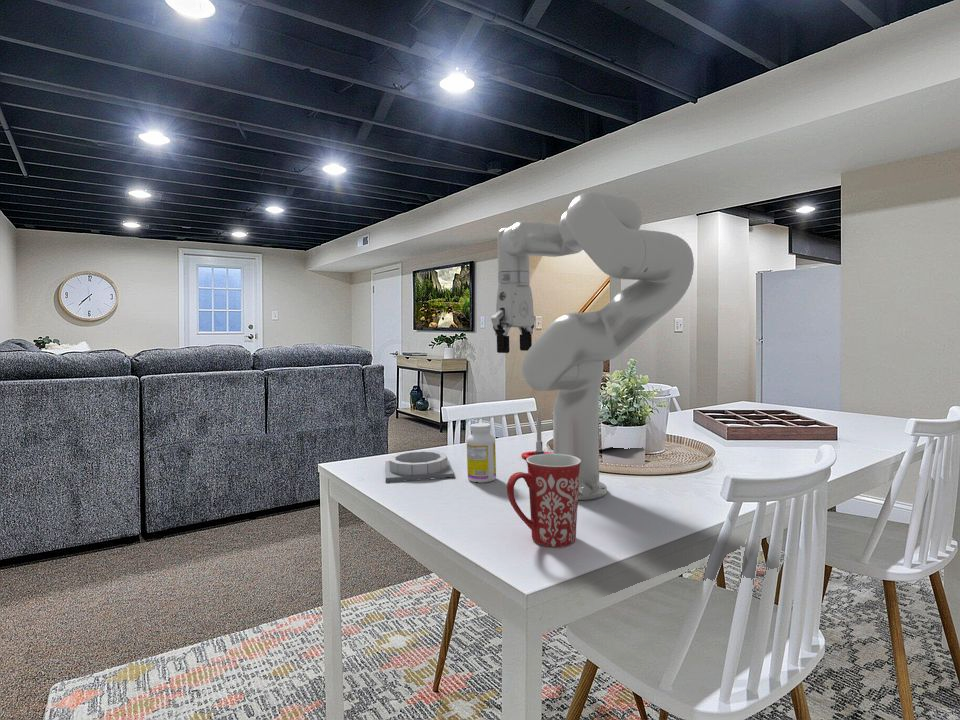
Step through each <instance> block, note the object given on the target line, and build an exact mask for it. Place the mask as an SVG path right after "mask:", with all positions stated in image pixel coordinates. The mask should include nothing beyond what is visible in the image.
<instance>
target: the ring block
mask: <svg viewBox="0 0 960 720" xmlns="http://www.w3.org/2000/svg"><path fill="white" fill-rule="evenodd" d="M388 459H389V460H386V461H385V473H384V474H385V476H384V477H385V482H386V481H397V482H405V481H404V480H412V481H418V480H417V479H427V480H432V479H431V478H442V479H447V478H446V477H455V472H454V469H453V468H452V465H451V463H450V461H449V459H448V456H447V454H446V453H444V452H440V451H438V450H437V451H436V450H410V451H409V450H408V451H403V452H398V453H397V452H396V453H395V454H392V455H391V456H389V458H388ZM455 478H456V477H455Z"/></svg>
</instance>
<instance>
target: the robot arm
mask: <svg viewBox="0 0 960 720" xmlns="http://www.w3.org/2000/svg"><path fill="white" fill-rule="evenodd" d="M642 223H643V213H642V210H641V208H640V206H639V204H638V203H636V201H634V200H633V199H632V198H630V197H628V196H624V195H619V194H611V193H604V192H598V191H587V192H582V193H580V194H579V195H577V196H575V198H574V199H572V201H571V202H570V204H569V205H568V207H567V210H565V212H563V214H562V215H561V218H560V220H559V223H551V222H543V221H541V222H540V221H532V220H531V221H528V220H521V221H517V222H516V223H514V224H512V225H511V226H508V227H507V226H506V227H502V228H501V229H499V230H498V232H497V236H496V237H497V285H498V287H497V292H496V306H495V307H496V309H495V311H496V312H495V313H494V314H493V315H492V316H491V318H490V321H491V323H492V328H493V331H494V335H495V336H496V352H497V353H498V354H509V353H510V335H508V334H509V332H510V330H511V328H518V330H519V331H520V334H519V350H520V351H526V353H525V355H524V356H523V359H522V363H521V374H522V378H523V380H524V382H525V383H526V386H527V385H528V387H529V388H531V389H533V390H535V391H538V392H552V391H553V392H554V391H558V392H557V395H556V397H555V400H554V403H553V407H552V408H553V409H552V442H553V444H552V445H553V449H552V450H553V452H552V454H565V455H571V456H574V457H577V458H579V459H580V460H581V464H580V470H579V488H578V501H587V500H593V499H594V500H595V499H599V498H602V497H603V496H605V495H606V494H607V492H608V487H607V485H606V484H605V483H604V482H602V481H600V451H599V418H600V412H599V411H600V391H601V385H602V381H603V374H604V362H606V361H611V360H613V359H616V357H618V356H620V355H621V354H622V353H624V351H625V350H626V349H627V348H628V347H630V346H631V345H632V344H633V343H634V342H635V341H637V340H638V339H639V338H640V337H641V336H642V335H643V334H645V333H646V331H648V329H650V328H651V327H652V326H653V325H654V324H656V323H657V322H658V321H659V320H661V319H662V318H663V317H664V316H666V315H667V313H669V312H670V311H671V310H673V308H675V306H676V305H677V304H678V303H679V302H680V301H681V300H682V298H683V297H684V296H685V295H686V292H687V291H688V289H689V286H690V284H691V283H692V279H693V274H694V268H695V267H694V266H695V265H694V264H695V262H694V261H695V260H694V255H693V251H692V248H691V246H690V245H689V243H688V242H686V240H685V239H684V238H682V237H680V236H679V235H677V234H672V233H671V232H666V231H664V232H663V231H659V230H657V231H655V230H646V229H640V228H641V226H642ZM582 251H584V253H586V254H587V256H588V257H589V258H590V259H591V260H592V262H593V263H594V264H595V265H596V266H597V267H598V268H599V269H600V270H601V272H603V273H604V274H605V275H607V276H609V277H611V278H614V279H617V280H632V281H635V282H634V283H633V284H630V285H628V286H627V287H625V288H624V289H622V290H621V291H619V292H618V293H617V294H616V295H615V296H614V297H613V298H612V299H611V300H610V302H608V303H607V304H606V305H605V306H604V307H602V308H601V309H599V310H595V311H589V312H585V311H584V312H568V313H566V314H563V315H562V316H560V317H557V319H555V320H554V321H553V322H552V323H551V324H549V326H548V327H547V328H546V329H545V330H544V331H543V333H542V334H541V335H540V336H539V337H538V338H537V339H536V340H535V341H534V343H532V341H533V340H532V339H533V336H532V335H533V332H534V331H533V330H534V328H535V321H536V316H535V313H534V312H535V310H534V303H533V294H532V288H531V285H530V284H531V282H530V279H531V278H530V257H531V256H534V257H535V256H536V257H550V258H551V257H553V258H554V257H563V256H569V255H575V254H579V253H581V252H582Z"/></svg>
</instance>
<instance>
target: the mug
mask: <svg viewBox="0 0 960 720" xmlns="http://www.w3.org/2000/svg"><path fill="white" fill-rule="evenodd" d="M525 461H526V466H527V472H523V471H518V472H515V473H513V474H511V476H509V479H507V480H508V481H507V482H506V483H507V484H506V494H507V497H508V501H509V503H510V505H511V507H512V509H513V510H514V512H515V513H516V514H517V516H518V517H519V518H520V520H521V521H523V523H524V524H525V525H526V526H527V527H528V529H530V530H531V539H532V541H533V542H534V541H535V542H534V543H535V544H538V545H540V544H541V546H543V547H544V546H545V547H549V546H551V548H561V547H562V546H563V547H567V545H568V546H571V545H573V544H574V543H575V541H576V538H577V523H578V507H579V502H578V501H579V500H578V488H579V470H580V464H581V460H580V459H579V458H577V457H574V456H571V455H565V454H553V453H552V454H539V455H530V457H528V458H527V459H525ZM520 479H523V480H524V481H525V483H526V485H527V488H528V491H529V492H528V493H529V494H528V495H529V496H528V497H529V511H530V519H529V518H528V517H527V516H526V515H525V513H524V512H523V511H522V510H521V508H520V507H519V505H518V503H517V501H516V498H515V493H514V492H515V490H514V489H515V484H516V482H517V481H518V480H520ZM572 543H573V544H572ZM570 544H571V545H570ZM563 547H562V548H563Z"/></svg>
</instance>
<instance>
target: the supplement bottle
mask: <svg viewBox="0 0 960 720" xmlns="http://www.w3.org/2000/svg"><path fill="white" fill-rule="evenodd" d="M469 426H470V427H469V429H470V432H471V433H470V434H469V435H468V436H467V438H466V464H467V468H466V469H467V479H468V481H470V482H473V483H476V482H478V484H481V483H482V484H483V483H484V484H485V483H490V482H494V481H495V480H496V479H497V460H496V459H497V458H496V453H497V452H496V438H495V436H494V434H491V429H492V427H491V423H488V422H487V423H486V422H479V423H478V422H477V423H471V424H470V425H469Z"/></svg>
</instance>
